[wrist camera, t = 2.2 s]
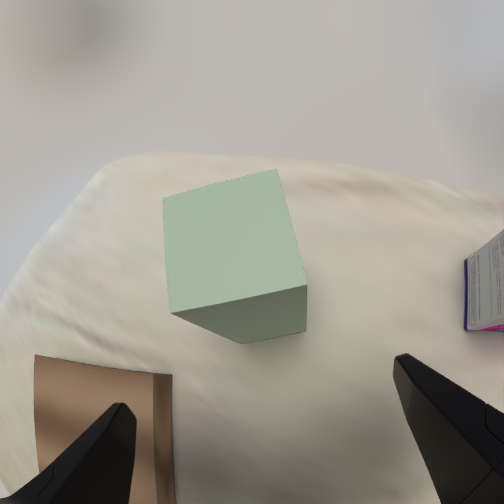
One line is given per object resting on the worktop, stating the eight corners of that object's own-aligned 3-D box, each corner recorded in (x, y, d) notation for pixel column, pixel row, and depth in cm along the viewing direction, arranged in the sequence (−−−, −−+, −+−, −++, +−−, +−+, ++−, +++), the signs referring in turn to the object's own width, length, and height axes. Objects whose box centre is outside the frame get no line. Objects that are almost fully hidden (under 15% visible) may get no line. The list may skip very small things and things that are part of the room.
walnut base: (176, 514, 16) (160, 529, 13) (61, 476, 18) (40, 481, 15) (171, 374, 21) (153, 374, 18) (57, 358, 22) (34, 354, 20)
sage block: (305, 330, 20) (307, 284, 9) (241, 344, 21) (170, 312, 10) (292, 270, 22) (276, 168, 11) (231, 283, 22) (162, 198, 12)
